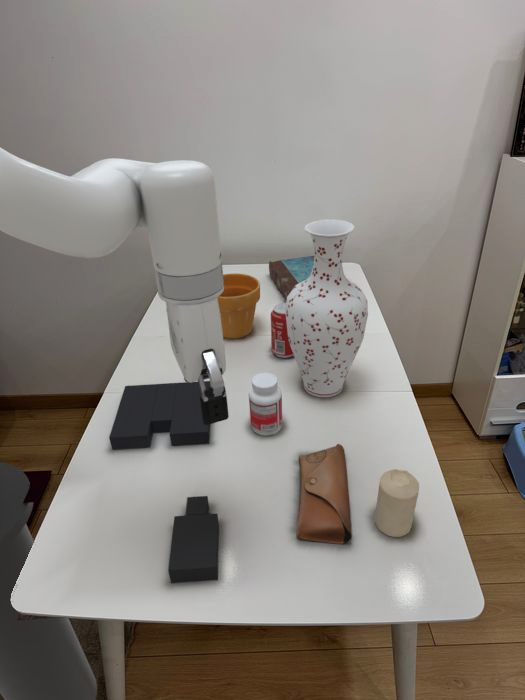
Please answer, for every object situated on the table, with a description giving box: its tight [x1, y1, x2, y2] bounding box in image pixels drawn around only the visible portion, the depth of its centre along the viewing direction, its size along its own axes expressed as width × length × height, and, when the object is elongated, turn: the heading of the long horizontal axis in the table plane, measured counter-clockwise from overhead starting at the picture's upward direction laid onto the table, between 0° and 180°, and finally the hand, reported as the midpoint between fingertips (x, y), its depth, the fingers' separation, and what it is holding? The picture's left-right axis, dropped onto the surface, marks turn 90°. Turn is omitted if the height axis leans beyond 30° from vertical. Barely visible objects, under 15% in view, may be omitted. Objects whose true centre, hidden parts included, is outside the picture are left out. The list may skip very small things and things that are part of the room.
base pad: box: [108, 380, 211, 451], centre depth 97 cm, size 18×16×3 cm
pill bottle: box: [248, 372, 283, 436], centre depth 92 cm, size 6×6×11 cm
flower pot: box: [217, 272, 261, 339], centre depth 123 cm, size 14×14×13 cm
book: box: [268, 255, 315, 301], centre depth 146 cm, size 23×18×5 cm
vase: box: [285, 218, 369, 398], centre depth 96 cm, size 16×16×35 cm
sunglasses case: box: [295, 443, 353, 545], centre depth 79 cm, size 18×7×7 cm
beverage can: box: [270, 302, 294, 359], centre depth 113 cm, size 6×6×12 cm
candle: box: [374, 468, 420, 538], centre depth 72 cm, size 6×6×10 cm
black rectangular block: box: [167, 495, 220, 584], centre depth 72 cm, size 6×12×3 cm, turn 3°
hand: (205, 398), depth 64 cm, fingers open, 9 cm apart
